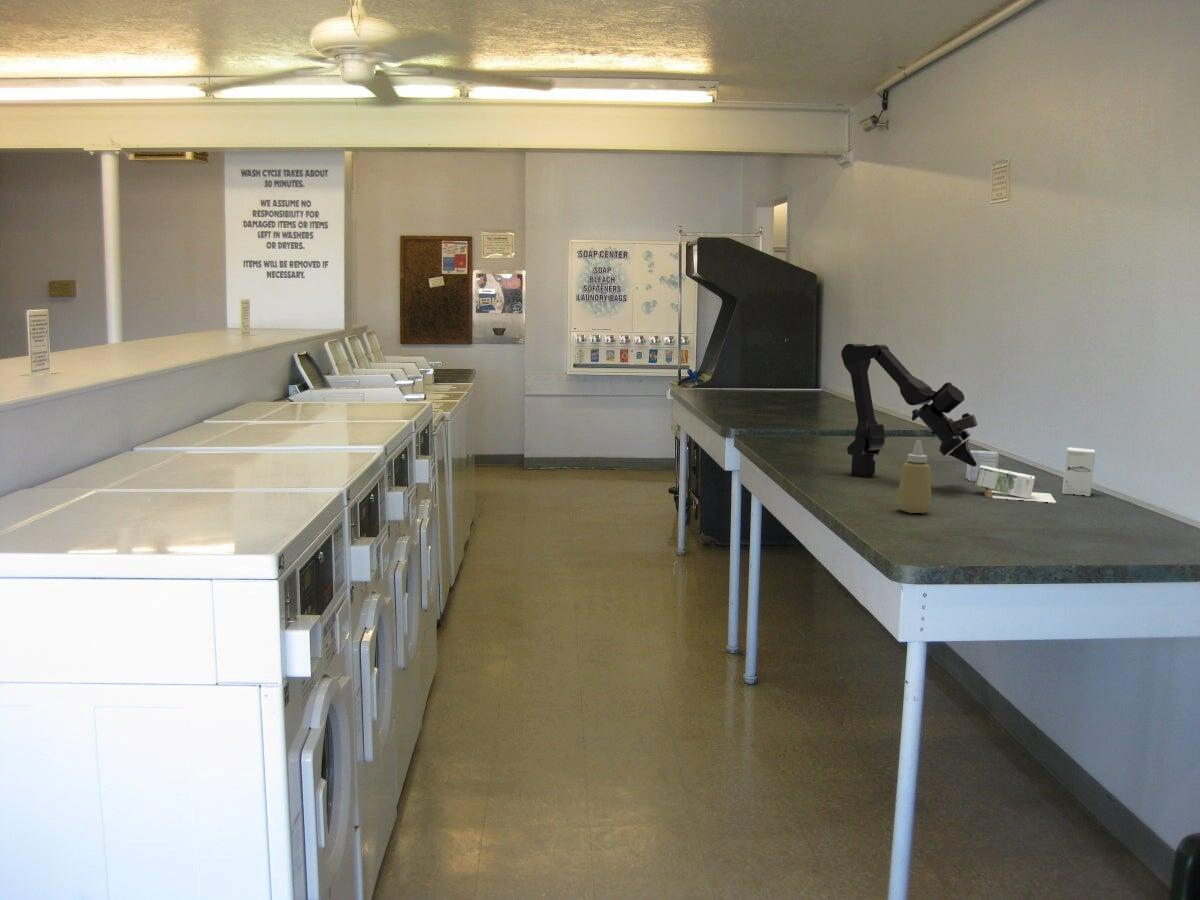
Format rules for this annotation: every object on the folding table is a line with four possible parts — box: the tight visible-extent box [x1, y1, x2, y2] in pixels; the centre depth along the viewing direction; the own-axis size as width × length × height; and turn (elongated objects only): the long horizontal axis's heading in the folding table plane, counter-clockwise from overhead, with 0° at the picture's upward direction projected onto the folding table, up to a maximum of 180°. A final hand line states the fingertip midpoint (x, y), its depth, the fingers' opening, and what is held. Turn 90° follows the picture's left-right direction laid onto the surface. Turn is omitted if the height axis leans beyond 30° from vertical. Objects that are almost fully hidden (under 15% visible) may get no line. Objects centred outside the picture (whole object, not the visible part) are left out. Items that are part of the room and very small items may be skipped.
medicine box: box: [965, 449, 1000, 482], centre depth 320 cm, size 8×4×9 cm, turn 84°
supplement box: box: [1061, 446, 1096, 497], centre depth 304 cm, size 7×7×13 cm
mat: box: [992, 491, 1057, 504], centre depth 297 cm, size 16×14×1 cm
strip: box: [982, 488, 993, 499], centre depth 299 cm, size 2×12×2 cm, turn 164°
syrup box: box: [974, 465, 1036, 498], centre depth 296 cm, size 6×6×14 cm
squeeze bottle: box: [897, 439, 932, 514], centre depth 268 cm, size 8×8×18 cm
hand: (975, 465), depth 299 cm, fingers closed
